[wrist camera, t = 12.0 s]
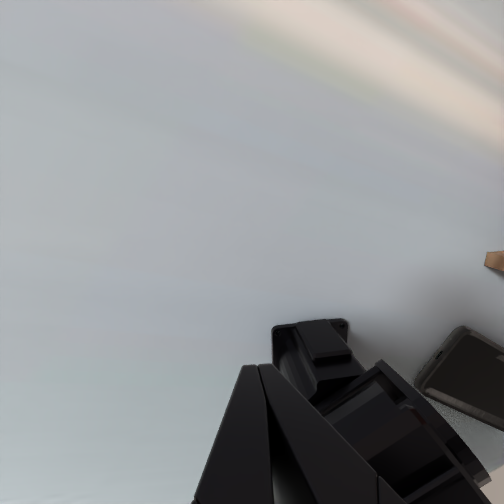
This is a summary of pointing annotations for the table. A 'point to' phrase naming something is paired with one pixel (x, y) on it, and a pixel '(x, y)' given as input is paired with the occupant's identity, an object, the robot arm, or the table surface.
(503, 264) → the box
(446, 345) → the phone
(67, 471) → the table surface
